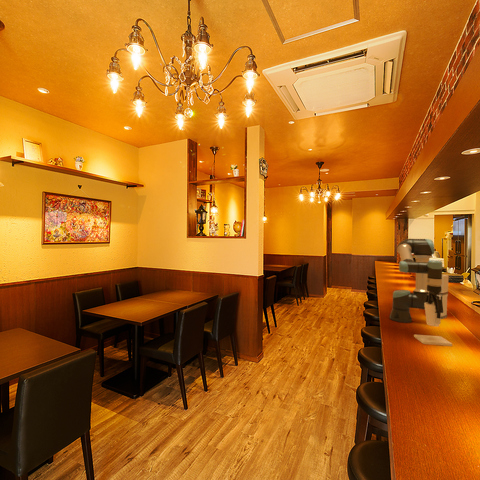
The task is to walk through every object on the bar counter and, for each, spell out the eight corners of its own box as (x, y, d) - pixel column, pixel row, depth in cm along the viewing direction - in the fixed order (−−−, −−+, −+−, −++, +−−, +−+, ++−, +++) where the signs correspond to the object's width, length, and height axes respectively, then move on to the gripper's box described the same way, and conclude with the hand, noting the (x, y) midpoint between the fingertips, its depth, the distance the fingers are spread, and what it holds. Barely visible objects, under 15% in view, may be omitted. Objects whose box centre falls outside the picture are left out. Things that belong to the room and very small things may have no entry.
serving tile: (413, 336, 177) (413, 334, 177) (440, 338, 175) (440, 336, 175) (423, 343, 165) (423, 341, 165) (452, 346, 163) (452, 343, 163)
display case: (447, 317, 224) (448, 275, 223) (441, 319, 218) (443, 276, 217) (431, 313, 233) (432, 273, 233) (425, 315, 227) (427, 274, 227)
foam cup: (445, 328, 164) (446, 306, 164) (428, 326, 166) (429, 305, 166) (437, 323, 173) (437, 303, 173) (421, 321, 175) (421, 302, 175)
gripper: (418, 282, 181) (417, 315, 181) (437, 288, 159) (436, 326, 159) (431, 282, 180) (430, 316, 180) (451, 288, 158) (450, 327, 158)
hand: (432, 320), depth 170 cm, fingers closed on foam cup, 9 cm apart
